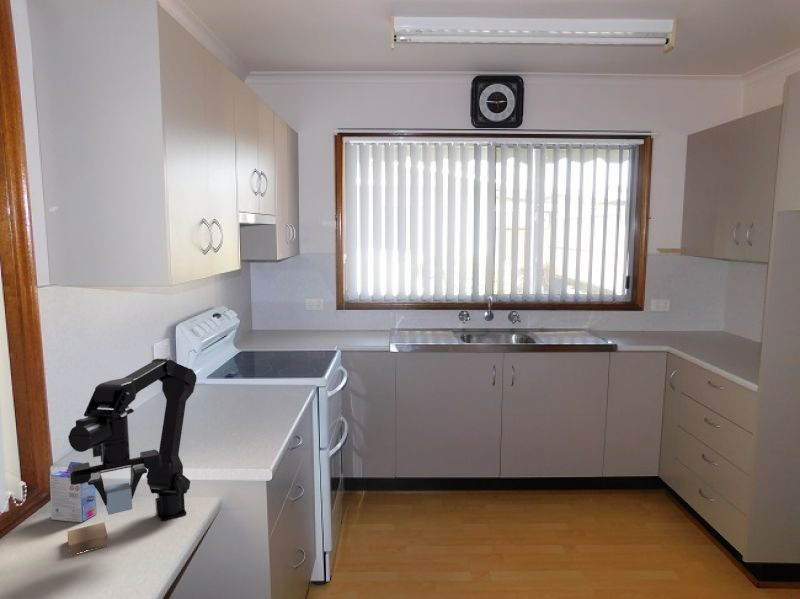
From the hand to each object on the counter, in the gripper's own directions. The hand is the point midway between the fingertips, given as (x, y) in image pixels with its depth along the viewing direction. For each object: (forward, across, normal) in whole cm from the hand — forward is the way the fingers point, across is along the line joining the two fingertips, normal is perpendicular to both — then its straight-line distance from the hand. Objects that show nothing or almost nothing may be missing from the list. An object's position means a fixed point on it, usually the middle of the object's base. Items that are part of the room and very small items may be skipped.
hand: (118, 501), depth 128 cm
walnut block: (+12, +6, -8) cm, 16 cm away
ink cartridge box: (+12, +8, -26) cm, 30 cm away
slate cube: (+2, 0, 0) cm, 2 cm away
